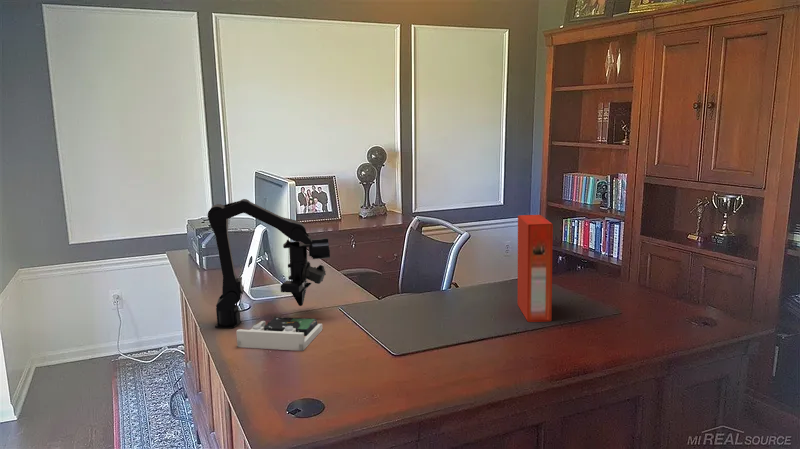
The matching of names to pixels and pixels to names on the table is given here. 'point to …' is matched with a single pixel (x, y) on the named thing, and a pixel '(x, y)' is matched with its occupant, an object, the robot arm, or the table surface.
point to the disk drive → (291, 324)
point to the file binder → (535, 267)
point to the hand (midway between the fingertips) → (300, 305)
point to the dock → (275, 338)
